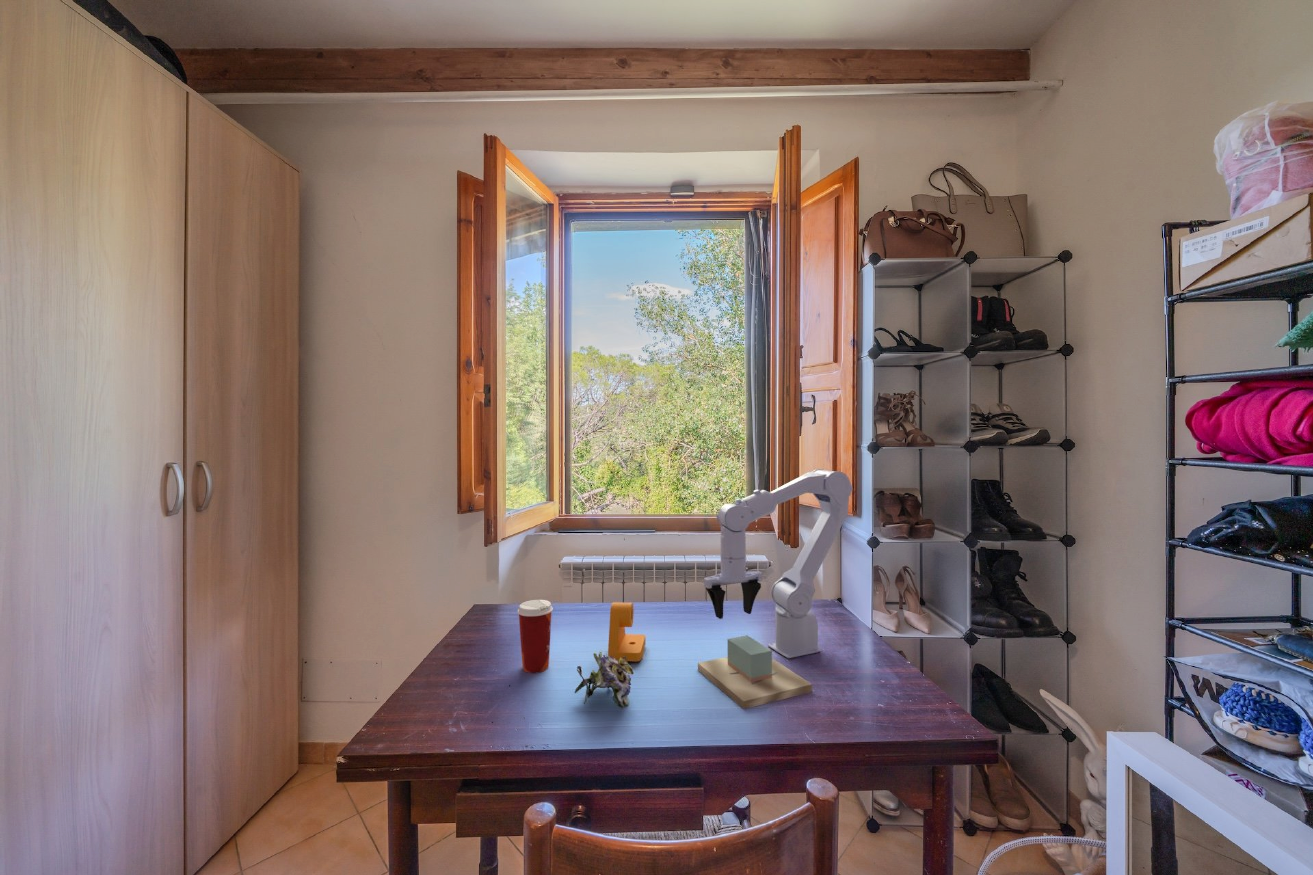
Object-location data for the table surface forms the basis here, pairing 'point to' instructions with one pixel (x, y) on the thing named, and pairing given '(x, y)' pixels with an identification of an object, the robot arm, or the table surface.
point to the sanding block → (750, 658)
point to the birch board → (754, 683)
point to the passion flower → (609, 678)
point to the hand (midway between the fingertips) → (733, 614)
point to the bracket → (618, 640)
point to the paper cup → (535, 634)
